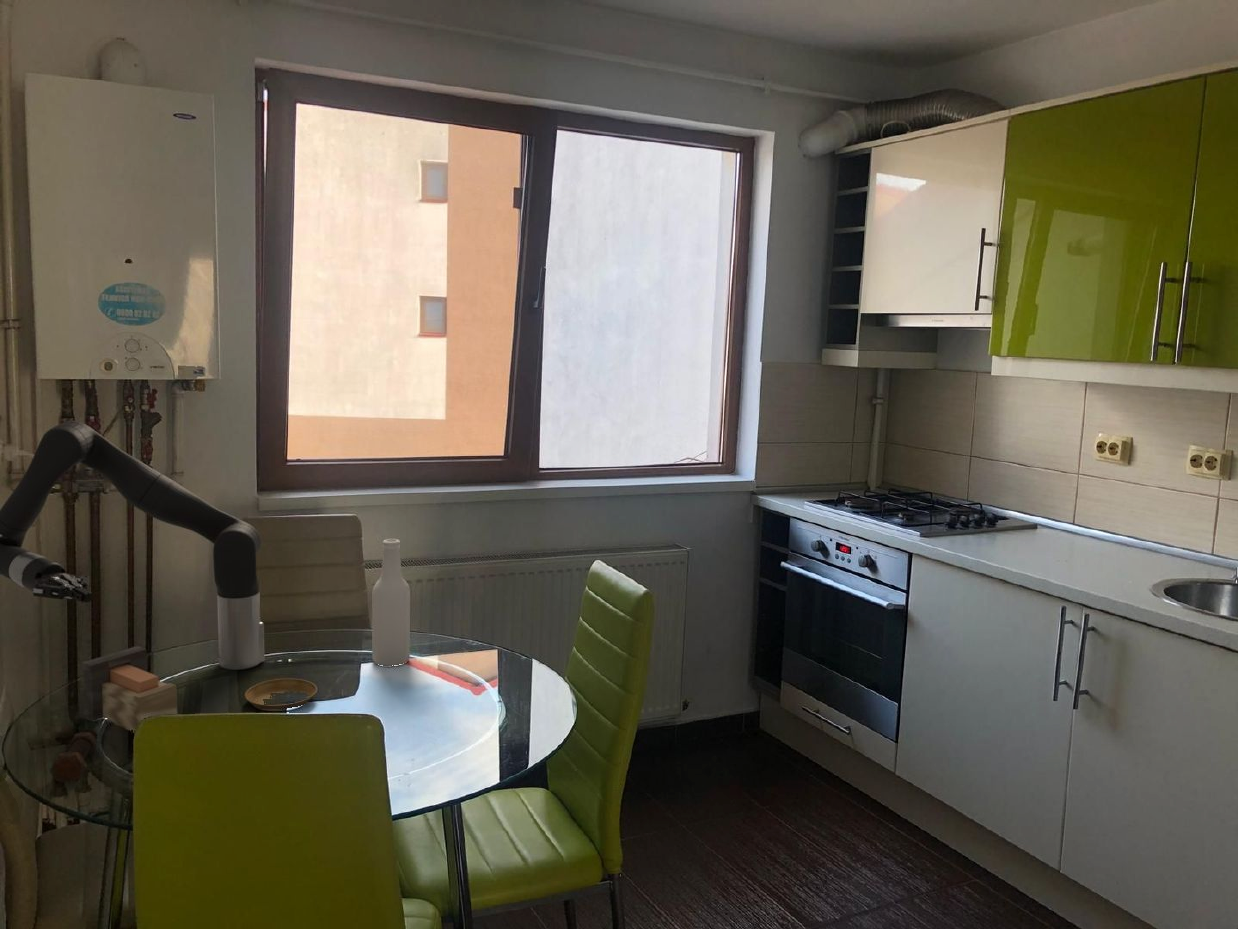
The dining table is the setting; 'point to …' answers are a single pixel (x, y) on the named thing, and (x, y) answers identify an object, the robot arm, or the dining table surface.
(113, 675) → the peg
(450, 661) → the dining table surface
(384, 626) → the alcohol
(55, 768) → the bolt
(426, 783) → the dining table surface
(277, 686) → the plant saucer
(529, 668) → the dining table surface
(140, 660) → the frame
